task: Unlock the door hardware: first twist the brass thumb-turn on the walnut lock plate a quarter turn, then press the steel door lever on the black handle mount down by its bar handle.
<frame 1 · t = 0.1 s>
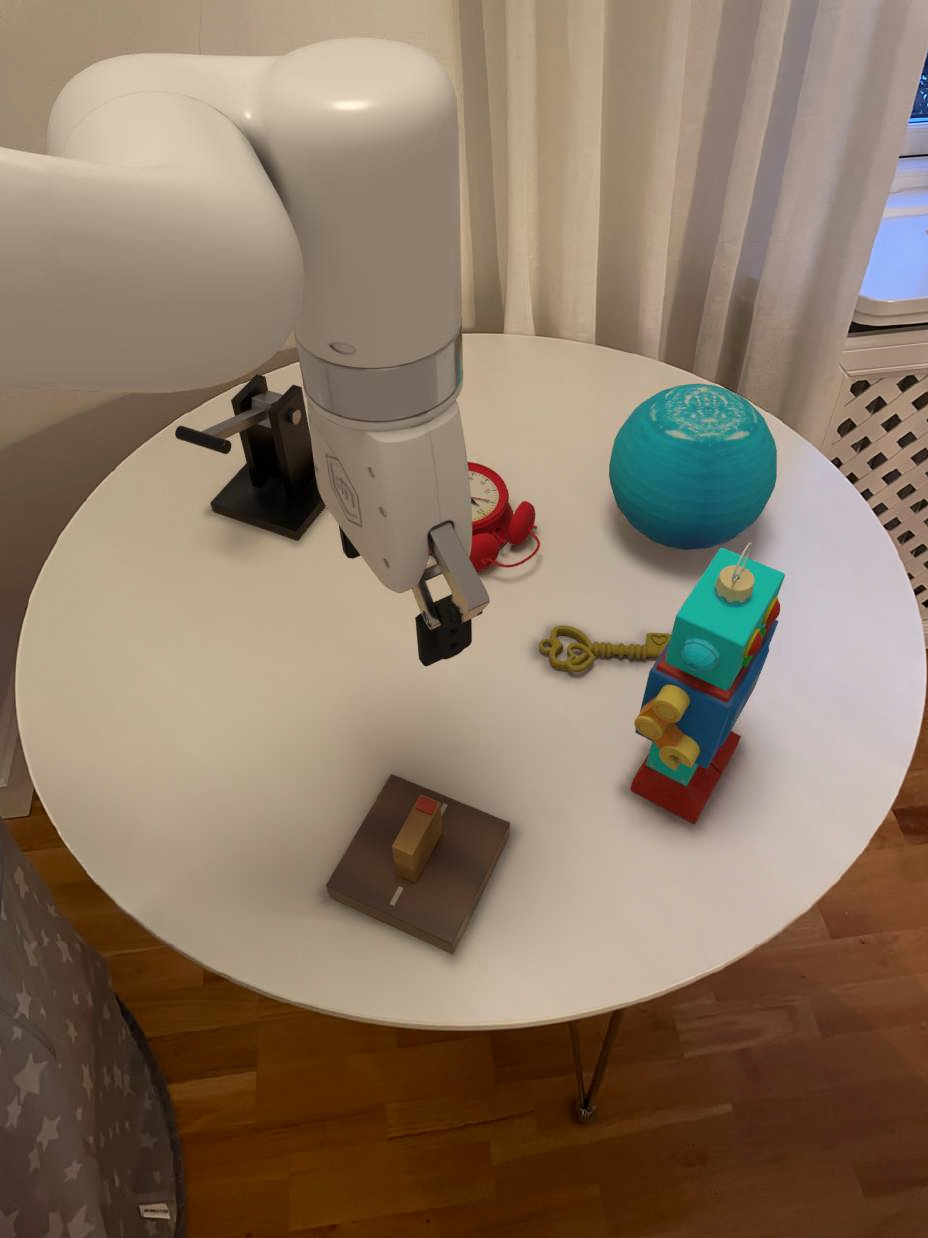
hand: (405, 598, 56), 22 cm above the table, tool pointing down, fingers open, 9 cm apart
decorative orb: (677, 527, 91), on the table
door lever: (240, 422, 84), point 12 cm above the table, hinge at 20.0°
alarm clock: (472, 533, 91), on the table
lock plate: (421, 865, 69), on the table
key: (606, 658, 81), on the table
thumbturn: (418, 838, 66), point 4 cm above the table, hinge at 0.0°
toy robot: (680, 768, 74), on the table
black handle mount: (286, 488, 95), on the table
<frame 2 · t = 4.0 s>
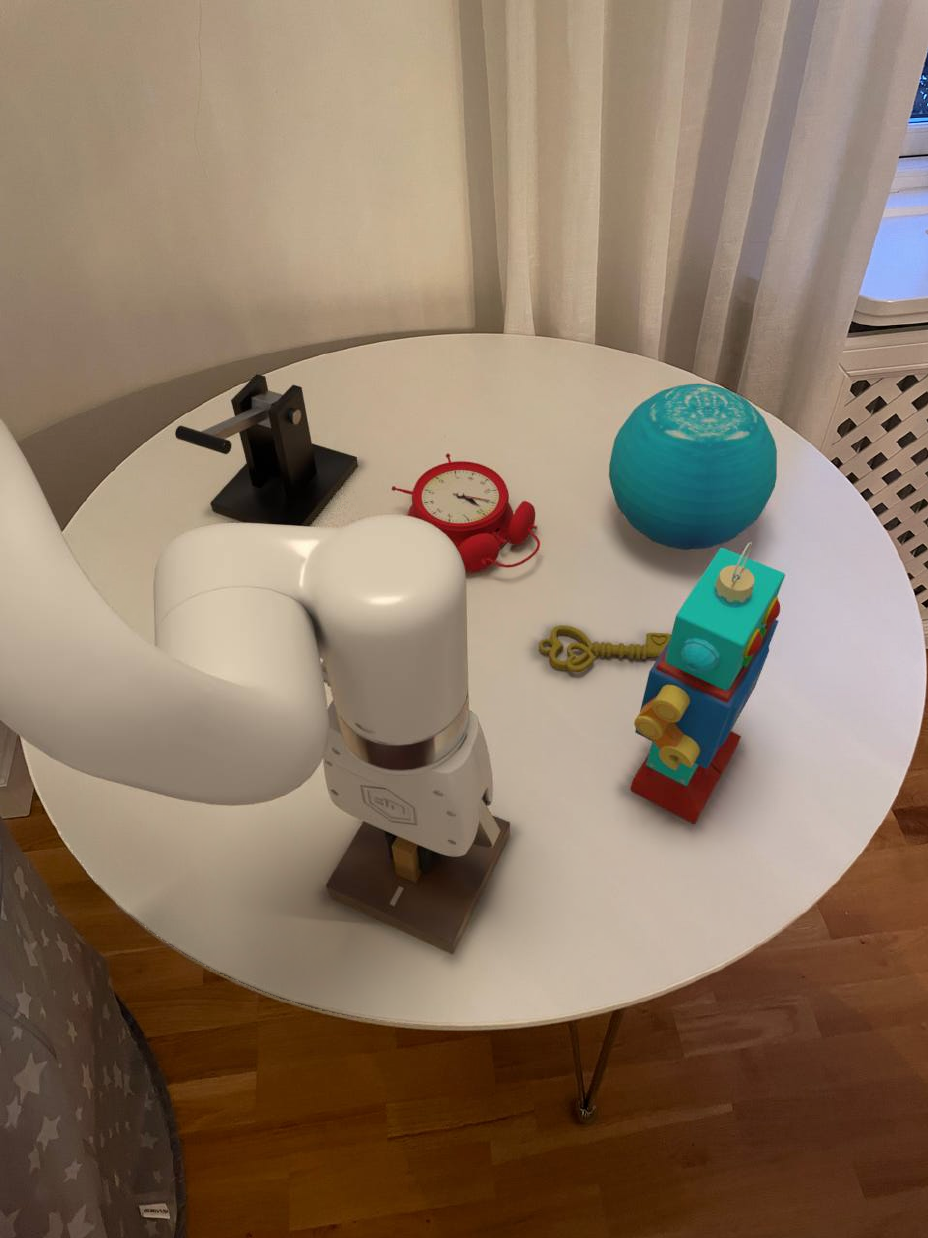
hand: (419, 848, 67), 3 cm above the table, tool pointing down, fingers closed on thumbturn
thumbturn: (418, 838, 66), point 4 cm above the table, hinge at 0.1°, touching gripper
everything else where it was.
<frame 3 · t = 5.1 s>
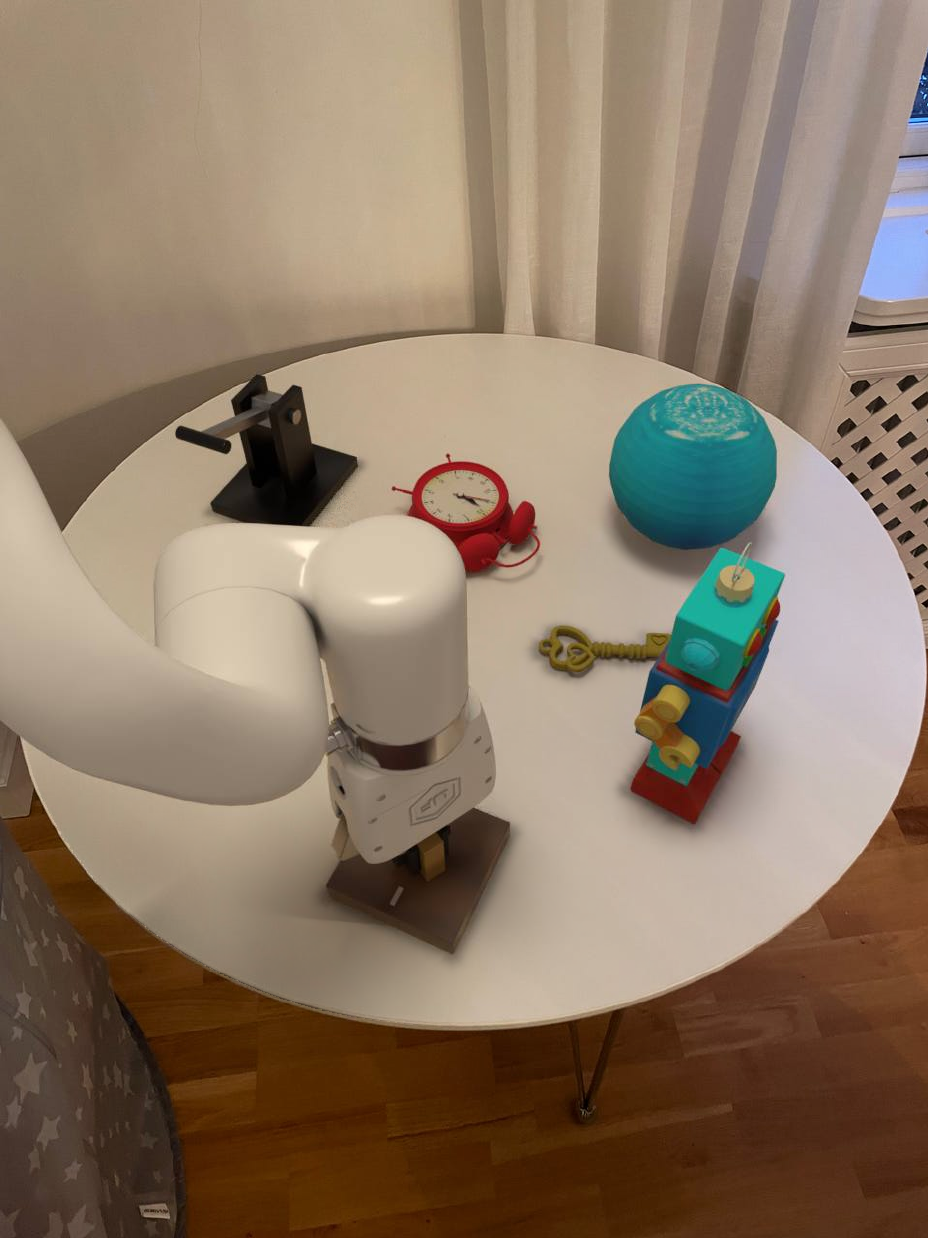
hand: (419, 849, 67), 3 cm above the table, tool pointing down, fingers closed on thumbturn
thumbturn: (418, 838, 66), point 4 cm above the table, hinge at 59.8°, touching gripper
everything else where it was.
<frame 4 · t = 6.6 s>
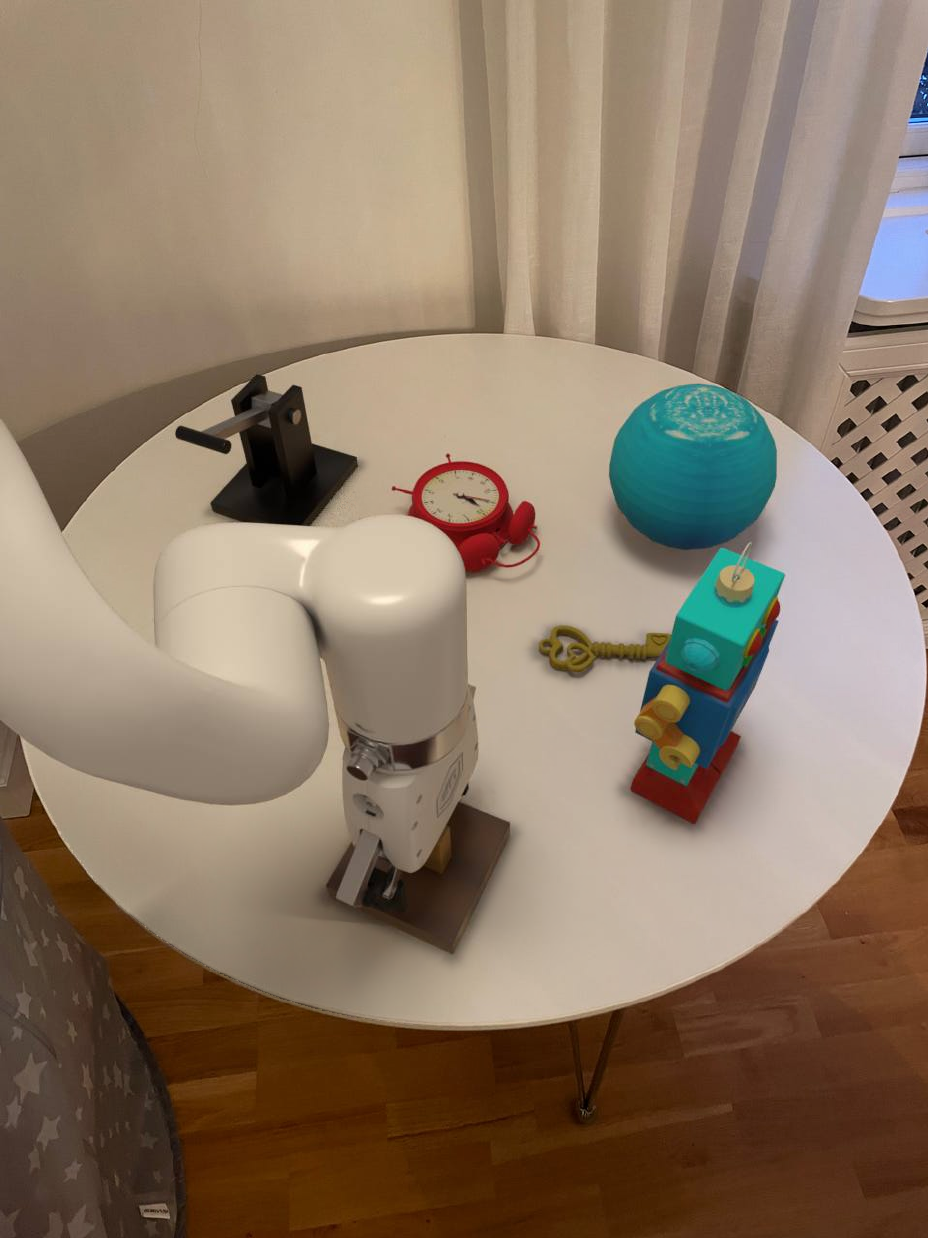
hand: (417, 841, 66), 4 cm above the table, tool pointing down, fingers open, 9 cm apart
thumbturn: (418, 838, 66), point 4 cm above the table, hinge at 89.5°
everything else where it was.
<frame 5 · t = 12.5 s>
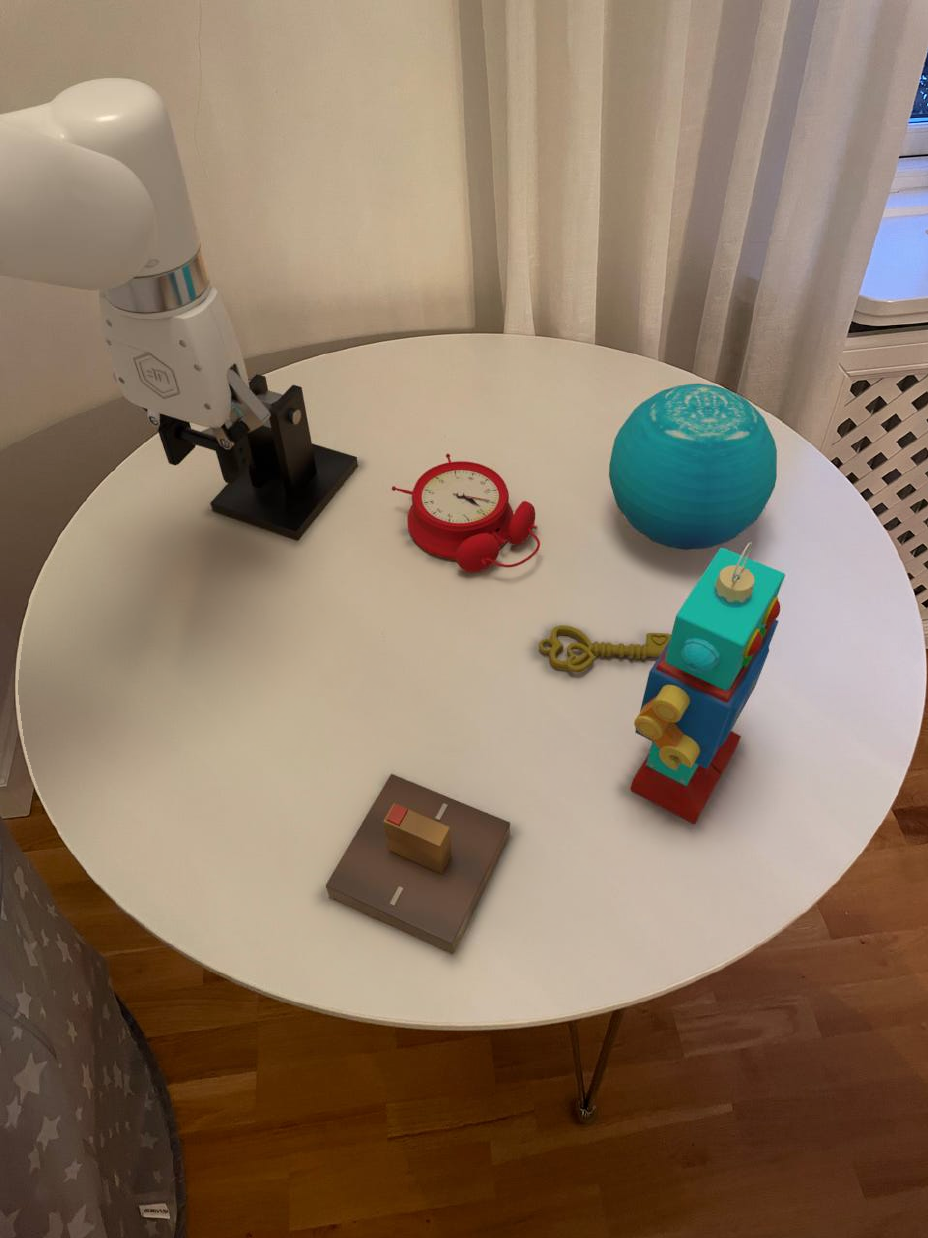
hand: (209, 462, 82), 11 cm above the table, tool pointing down, fingers closed on door lever, 5 cm apart
door lever: (240, 422, 84), point 12 cm above the table, hinge at 20.0°, touching gripper
everything else where it was.
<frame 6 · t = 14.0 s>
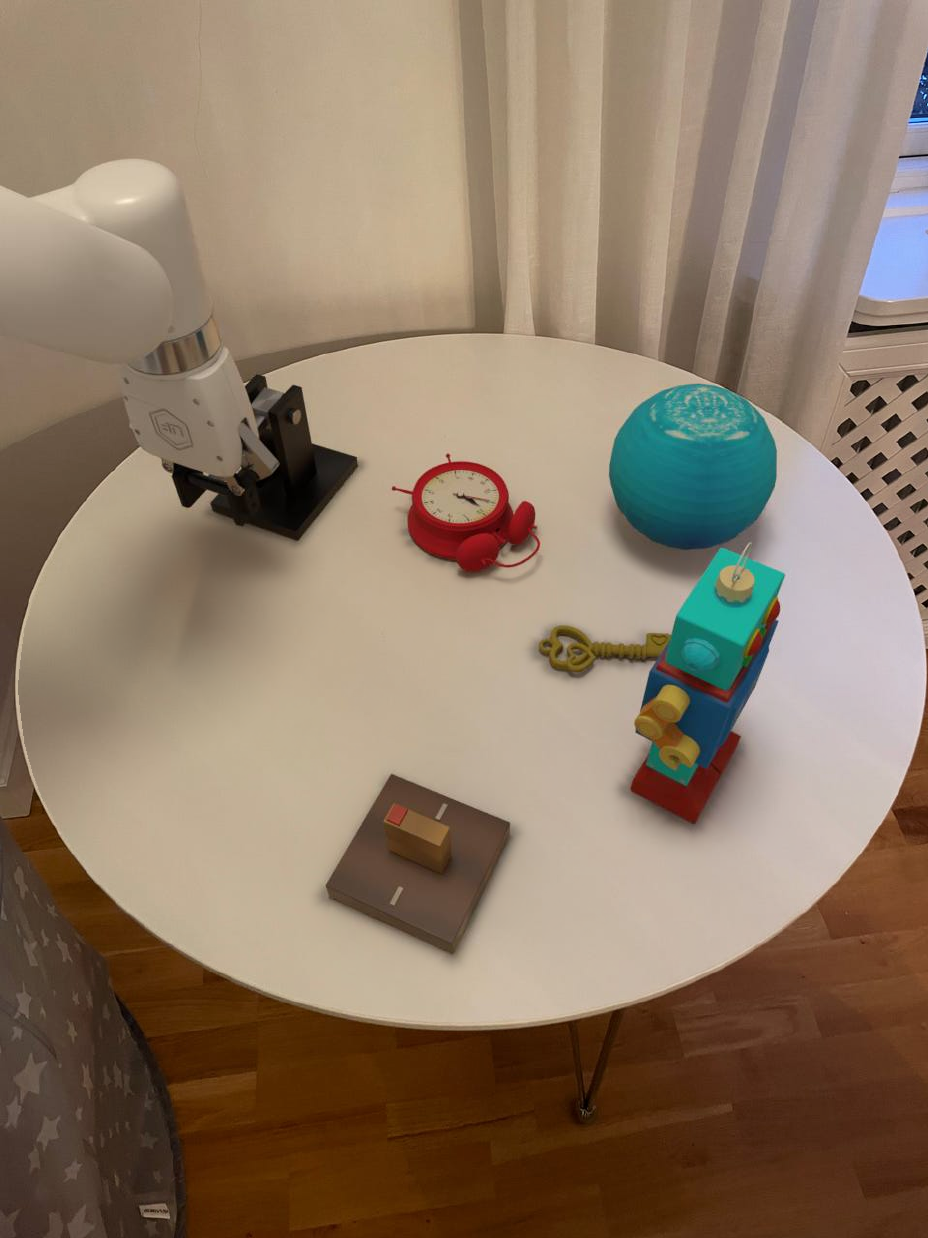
hand: (221, 505, 85), 6 cm above the table, tool pointing down, fingers closed on door lever, 5 cm apart
door lever: (243, 442, 86), point 9 cm above the table, hinge at -7.3°, touching gripper
everything else where it was.
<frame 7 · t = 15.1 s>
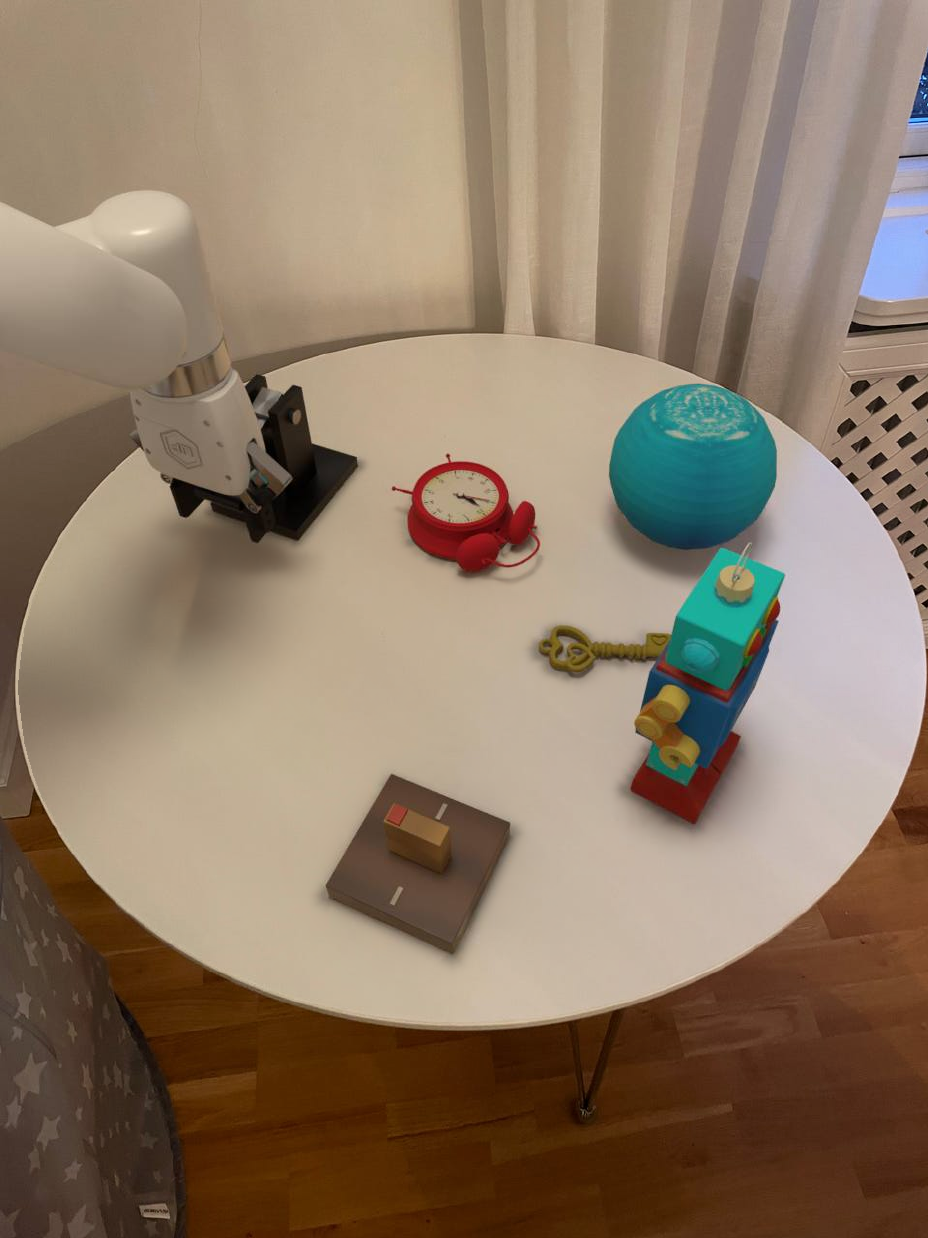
hand: (227, 519, 87), 4 cm above the table, tool pointing down, fingers open, 7 cm apart
door lever: (247, 448, 86), point 9 cm above the table, hinge at -18.8°
everything else where it was.
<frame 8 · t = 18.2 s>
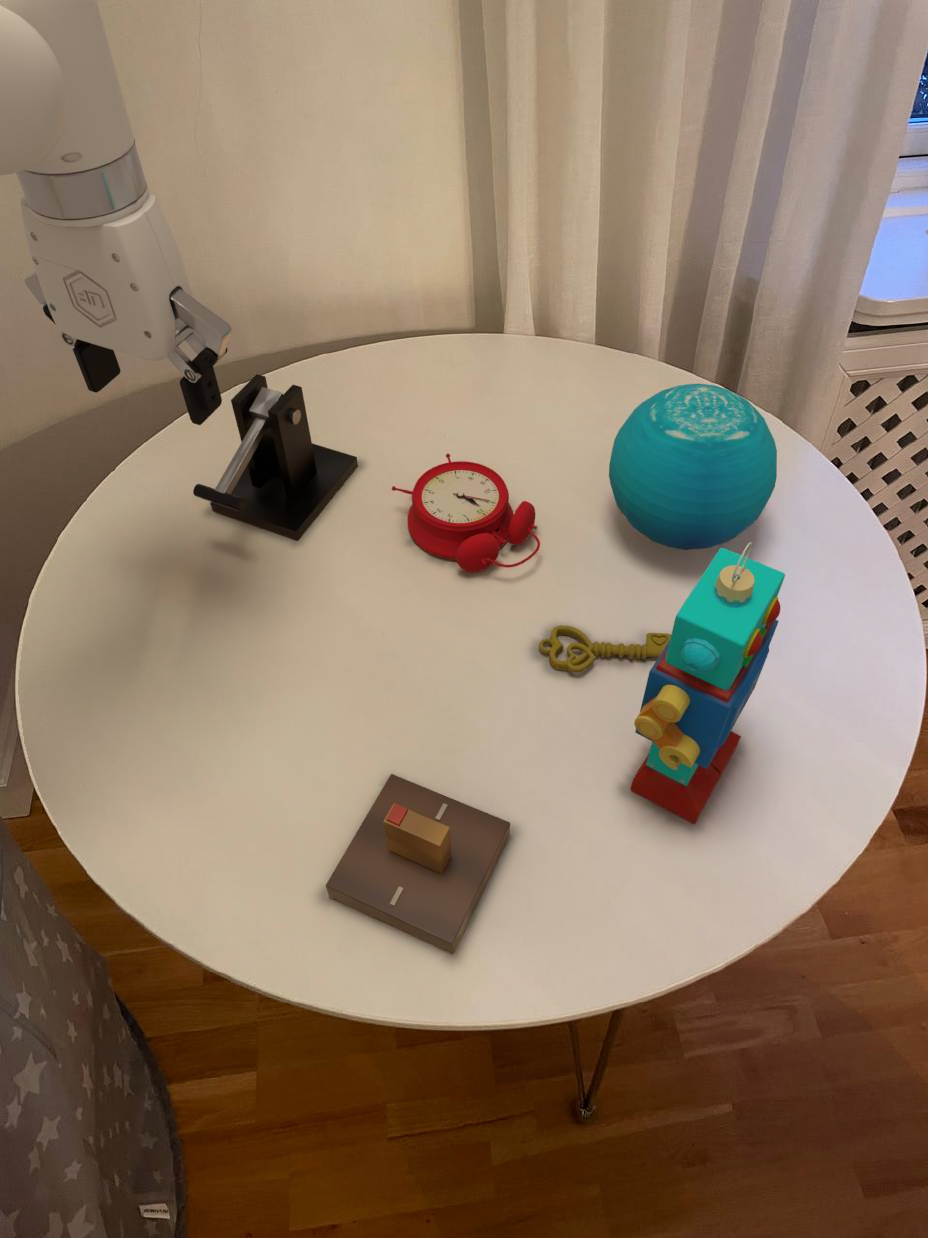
hand: (155, 397, 72), 20 cm above the table, tool pointing down, fingers open, 9 cm apart
nothing on the table moved.
at the end: thumbturn at +90° (first picture: +0°); door lever at -19° (first picture: +20°) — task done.
